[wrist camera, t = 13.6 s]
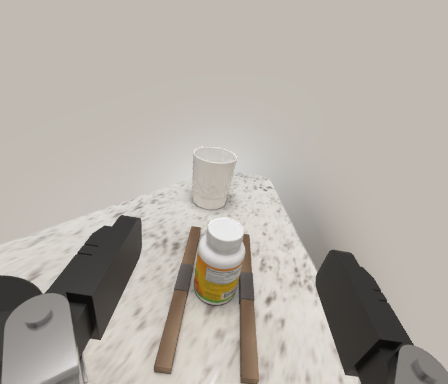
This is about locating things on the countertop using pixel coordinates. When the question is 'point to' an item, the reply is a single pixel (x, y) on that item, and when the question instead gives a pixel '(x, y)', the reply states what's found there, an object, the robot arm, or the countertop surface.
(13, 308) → the jar
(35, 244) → the countertop surface
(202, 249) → the supplement bottle
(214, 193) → the white cup
